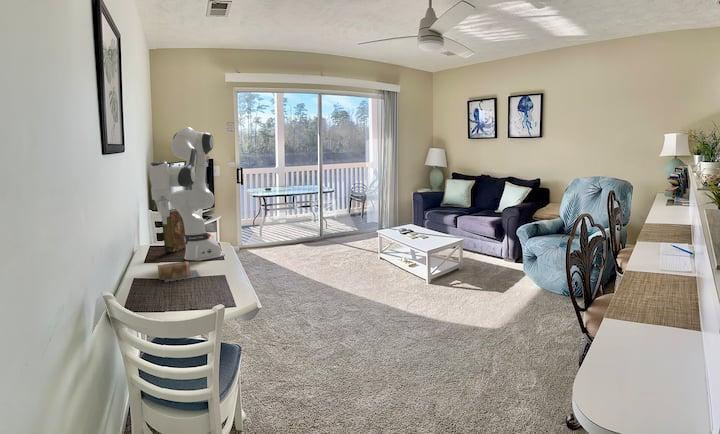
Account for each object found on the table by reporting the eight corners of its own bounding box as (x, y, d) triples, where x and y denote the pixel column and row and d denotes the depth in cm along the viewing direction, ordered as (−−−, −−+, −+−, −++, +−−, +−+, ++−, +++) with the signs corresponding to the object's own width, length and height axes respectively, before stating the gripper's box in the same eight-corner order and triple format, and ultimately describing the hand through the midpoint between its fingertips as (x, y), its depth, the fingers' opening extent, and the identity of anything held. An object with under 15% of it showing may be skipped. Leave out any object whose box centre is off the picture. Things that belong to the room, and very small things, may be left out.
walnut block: (158, 277, 230) (188, 272, 236) (159, 280, 224) (190, 275, 231) (157, 265, 229) (187, 261, 235) (158, 268, 223) (189, 263, 230)
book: (180, 246, 298) (176, 208, 294) (188, 247, 297) (184, 208, 293) (165, 253, 283) (161, 212, 278) (173, 253, 281) (169, 212, 277)
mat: (196, 270, 241) (195, 269, 241) (200, 276, 229) (200, 276, 229) (162, 275, 234) (162, 274, 234) (165, 282, 222) (165, 281, 222)
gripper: (171, 196, 215) (174, 226, 217) (166, 193, 233) (169, 220, 235) (156, 198, 212) (159, 227, 214) (153, 194, 230) (156, 221, 232)
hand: (164, 223), depth 225 cm, fingers closed
